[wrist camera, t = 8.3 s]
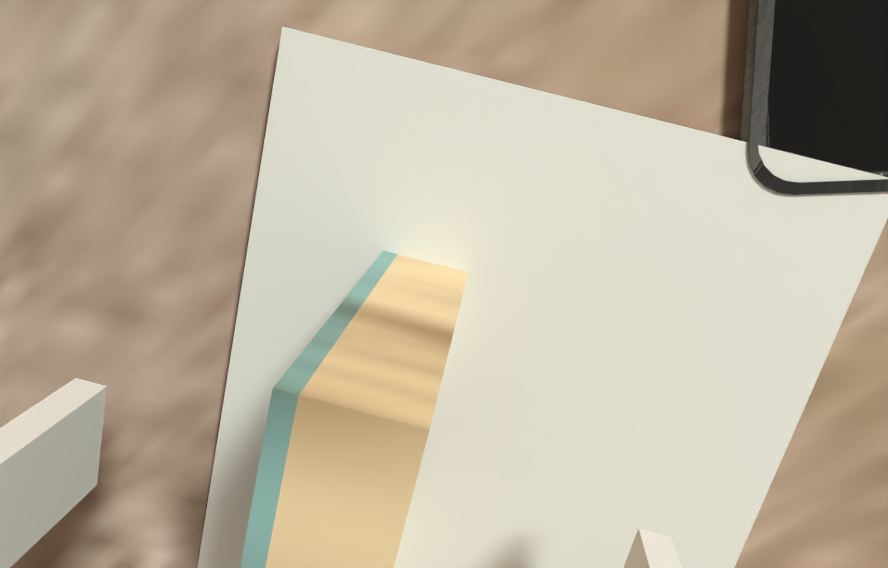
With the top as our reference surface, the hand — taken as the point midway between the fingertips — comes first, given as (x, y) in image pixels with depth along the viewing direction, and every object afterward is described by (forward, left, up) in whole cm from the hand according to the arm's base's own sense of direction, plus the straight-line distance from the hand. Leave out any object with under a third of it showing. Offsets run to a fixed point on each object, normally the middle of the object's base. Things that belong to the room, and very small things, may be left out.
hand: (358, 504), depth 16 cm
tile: (0, 0, -4) cm, 4 cm away
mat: (+3, 0, -5) cm, 6 cm away
